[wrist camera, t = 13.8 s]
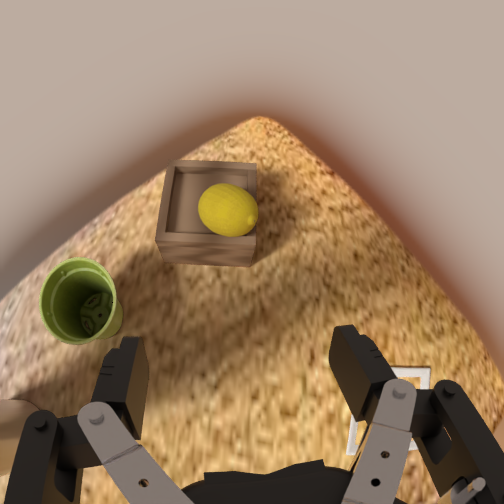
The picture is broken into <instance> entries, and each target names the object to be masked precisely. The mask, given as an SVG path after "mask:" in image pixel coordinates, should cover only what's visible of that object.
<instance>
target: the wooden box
mask: <svg viewBox="0 0 504 504" xmlns="http://www.w3.org/2000/svg"><path fill="white" fill-rule="evenodd" d="M256 165H257V164H256V163H240V162H222V161H197V160H168V165H167V170H166V175H165V181H164V186H163V192H162V198H161V204H160V210H159V216H158V223H157V230H156V237H155V242H156V244H157V246H158V248H159V251H160V253H161V255H162V257H163V260H164V262H165V263H174V264H194V265H214V266H236V267H250V265H251V261H252V258H253V254H254V250H255V246H256V224H255V226H254V227H253V228H252V229H251V230H250V231H249V232H248V233H246V234H245V235H242V236H239V237H227V236H222V235H220V234H217V233H215V232H213V231H211V230H210V229H209V228H208V227H206V226H205V225H204V223H203V222H202V220H201V218H200V216H199V212H198V204H199V200H200V197H201V196H202V194H203V193H204V192H205V191H206V190H207V189H208V188H209V187H211V186H213V185H216V184H220V183H228V184H233V185H236V186H239V187H241V188H243V189H244V190H246V191H247V192H248V193H249V194H250V195H252V197H253V198H254V199H255V201H256Z"/></svg>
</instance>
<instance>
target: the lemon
mask: <svg viewBox="0 0 504 504" xmlns="http://www.w3.org/2000/svg"><path fill="white" fill-rule="evenodd" d="M198 212H199V216H200V218H201V220H202V222H203V223H204V225H205V226H206V227H208V228H209V229H210V230H211V231H213V232H215V233H217V234H220V235H222V236H227V237H239V236H242V235H245V234H246V233H248V232H249V231H250V230H251V229H252V228H253V227H254V226H255V224H256V222H257V219H258V206H257V203H256V201H255V199H254V198H253V197H252V195H250V194H249V193H248V192H247V191H246V190H244V189H243V188H241V187H239V186H236V185H233V184H228V183H220V184H216V185H213V186H211V187H209V188H208V189H207V190H206V191H205V192H204V193H203V194H202V196H201V197H200V200H199V204H198Z"/></svg>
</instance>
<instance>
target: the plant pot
mask: <svg viewBox="0 0 504 504" xmlns="http://www.w3.org/2000/svg"><path fill="white" fill-rule="evenodd" d="M94 298H96V300H95V301H93V302H92V303H91V304H89V302H90V301H91V300H92V299H94ZM112 302H113V304H112ZM39 309H40V315H41V318H42V321H43V323H44V325H45V327H46V328H47V330H48V331H49V332H50V333H51V334H52V335H53V336H54V337H55V338H56V339H58V340H60V341H61V342H64V343H67V344H71V345H81V344H86V343H89V342H91V341H93V340H95V339H107V338H110V337H111V336H113V335H114V334H115V333H116V332H117V331H118V330H119V328H120V327H121V323H122V319H123V310H122V307H121V304H120V302H119V301H118V299H117V294H116V288H115V285H114V282H113V279H112V278H111V276H110V274H109V273H108V271H107V270H106V269H105V268H104V267H103V266H102V265H101V264H99V263H98V262H96V261H94V260H92V259H89V258H85V257H75V258H70V259H67V260H65V261H63V262H61V263H60V264H58V265H57V266H56V267H54V268H53V269H52V270H51V272H50V273H49V274H48V276H47V277H46V279H45V281H44V283H43V285H42V288H41V292H40V298H39ZM100 313H101V314H102V317H99V316H98V315H99V314H100ZM85 321H87V323H88V326H89V327H90V329H91V330H89V329H88V328H87V327H86V325H85Z"/></svg>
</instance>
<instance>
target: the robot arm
mask: <svg viewBox="0 0 504 504" xmlns="http://www.w3.org/2000/svg"><path fill="white" fill-rule="evenodd" d="M329 364H330V367H331V369H332V372H333V374H334V376H335V378H336V380H337V382H338V384H339V387H340V389H341V391H342V393H343V395H344V397H345V400H346V402H347V404H348V406H349V408H350V410H351V413H352V415H353V417H354V419H355V421H356V422H359V421H363V420H365V421H366V423H367V426H366V428H365V431H364V433H363V436H362V439H361V441H360V444H359V446H358V449H357V451H356V454H355V456H354V458H353V461H352V463H351V465H350V467H349V469H348V471H347V470H344V469H341V468H336V467H329V466H325V465H324V462H323V459H321V460H316V461H310V462H305V463H299V464H294V465H291V466H289V467H286V468H283V469H281V470H278V471H275V472H272V473H270V474H265V475H264V474H253V473H245V472H237V471H227V472H204V480H201V481H198V482H195V483H192V484H190V485H188V486H186V487H184V488H183V489H181V490H180V488H179V487H178V486H177V485H176V484H175V483H174V482H173V481H172V480H171V479H170V478H169V476H168V475H167V474H166V473H165V472H164V471H163V470H162V469H161V467H160V466H159V465H158V464H157V463H156V462H155V460H154V459H153V458H152V457H151V456H150V454H149V453H148V452H147V451H146V449H145V448H144V447H143V446H142V445H139V444H138V443H137V442H136V441H135V440H141V433H142V424H143V416H144V409H145V401H146V394H147V387H148V380H149V366H148V361H147V357H146V353H145V348H144V344H143V339H142V337H123V339H122V342H121V345H120V349H114V348H112V349H111V350H110V351H109V352H108V354H107V355H106V356H105V357H104V360H103V363H102V368H101V370H100V373H99V374H100V375H99V376H98V379H97V383H96V386H95V389H94V392H93V396H92V399H91V402H90V403H89V404H87V405H85V406H84V407H82V408H81V410H80V411H79V413H78V415H75V416H70V417H64V418H56V416H55V415H54V414H53V413H52V412H50V411H47V410H39V409H38V408H37V407H36V406H35V405H33V404H32V403H30V402H28V401H25V400H0V476H3V475H6V474H9V473H10V478H9V482H8V486H7V491H6V496H5V500H4V504H80V495H81V485H82V476H83V468H88V467H94V466H100V465H103V466H104V467H105V469H106V470H107V472H108V473H109V475H110V476H111V478H112V479H113V481H114V482H115V484H116V485H117V487H118V488H119V489H120V491H121V492H122V494H123V495H124V496H125V498H126V499H127V500H128V502H129V503H130V504H407V503H405V502H403V501H401V500H400V499H398V498H396V497H395V496H396V493H397V490H398V486H399V483H400V480H401V476H402V473H403V469H404V466H405V462H406V458H407V455H408V451H409V447H410V442H411V438H413V439H414V441H415V443H416V445H417V448H418V450H419V452H420V454H421V456H422V458H423V460H424V463H425V465H426V467H427V469H428V471H429V474H430V476H431V478H432V480H433V482H434V485H435V487H436V489H437V491H438V494H439V496H440V499H439V501H438V503H437V504H504V453H503V451H502V449H501V448H500V446H499V444H498V443H497V441H496V439H495V438H494V436H493V435H492V433H491V431H490V430H489V428H488V427H487V425H486V423H485V422H484V420H483V419H482V417H481V416H480V414H479V413H478V411H477V410H476V408H475V407H474V405H473V404H472V402H471V401H470V399H469V398H468V396H467V395H466V393H465V392H464V390H463V389H462V388H461V386H460V385H459V384H457V383H456V382H454V381H451V380H441V381H439V382H437V383H436V385H435V386H434V388H433V389H415V387H414V386H413V385H412V384H411V383H410V382H408V381H406V380H403V379H398V378H397V376H396V375H395V373H394V372H393V370H392V369H391V367H390V365H389V364H388V362H387V361H386V359H385V358H384V357H383V355H382V353H381V352H380V350H378V347H377V346H376V344H375V343H374V341H373V340H371V339H370V338H368V337H367V336H366V335H364V334H363V335H360V334H359V333H358V331H357V330H356V328H355V327H354V325H343V326H336V327H335V328H334V331H333V336H332V341H331V346H330V350H329ZM444 427H445V428H446V430H447V432H448V434H449V435H448V434H447V432H446V430H445V428H444ZM449 436H450V437H451V439H450V437H449ZM451 440H452V441H451Z"/></svg>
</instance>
